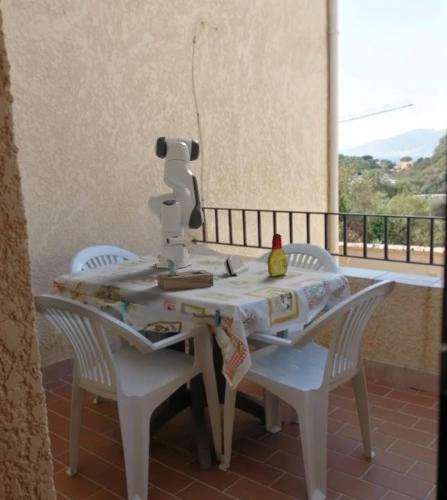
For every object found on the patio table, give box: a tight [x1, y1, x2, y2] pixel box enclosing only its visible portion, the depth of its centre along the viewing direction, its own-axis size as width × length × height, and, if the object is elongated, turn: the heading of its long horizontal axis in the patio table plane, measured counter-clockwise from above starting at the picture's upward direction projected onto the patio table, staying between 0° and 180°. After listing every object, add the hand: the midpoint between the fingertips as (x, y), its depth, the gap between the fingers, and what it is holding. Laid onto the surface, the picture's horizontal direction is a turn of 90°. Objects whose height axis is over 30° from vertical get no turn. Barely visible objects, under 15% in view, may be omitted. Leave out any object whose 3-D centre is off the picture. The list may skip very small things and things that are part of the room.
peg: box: [168, 260, 177, 277], centre depth 224 cm, size 3×3×12 cm
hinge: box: [223, 254, 249, 277], centre depth 253 cm, size 17×5×10 cm, turn 159°
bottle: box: [267, 233, 288, 277], centre depth 243 cm, size 12×6×20 cm, turn 131°
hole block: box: [156, 269, 214, 292], centre depth 227 cm, size 12×22×5 cm, turn 112°
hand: (172, 269), depth 224 cm, fingers open, 8 cm apart
